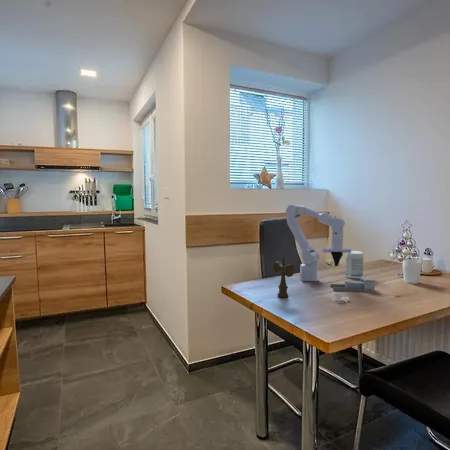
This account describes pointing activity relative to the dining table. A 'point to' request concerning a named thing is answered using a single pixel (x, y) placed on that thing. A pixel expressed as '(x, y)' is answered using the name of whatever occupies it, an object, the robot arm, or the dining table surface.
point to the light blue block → (354, 284)
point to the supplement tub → (354, 265)
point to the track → (368, 286)
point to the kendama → (283, 276)
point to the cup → (411, 270)
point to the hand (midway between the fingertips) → (336, 265)
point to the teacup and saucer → (338, 297)
